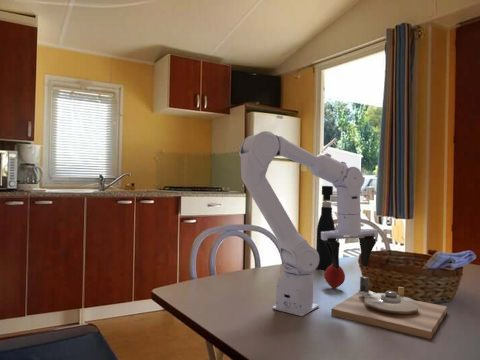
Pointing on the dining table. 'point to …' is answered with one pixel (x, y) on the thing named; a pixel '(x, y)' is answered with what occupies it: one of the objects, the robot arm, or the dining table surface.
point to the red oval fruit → (334, 276)
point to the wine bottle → (325, 229)
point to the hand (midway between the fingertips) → (350, 266)
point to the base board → (393, 316)
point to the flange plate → (386, 300)
